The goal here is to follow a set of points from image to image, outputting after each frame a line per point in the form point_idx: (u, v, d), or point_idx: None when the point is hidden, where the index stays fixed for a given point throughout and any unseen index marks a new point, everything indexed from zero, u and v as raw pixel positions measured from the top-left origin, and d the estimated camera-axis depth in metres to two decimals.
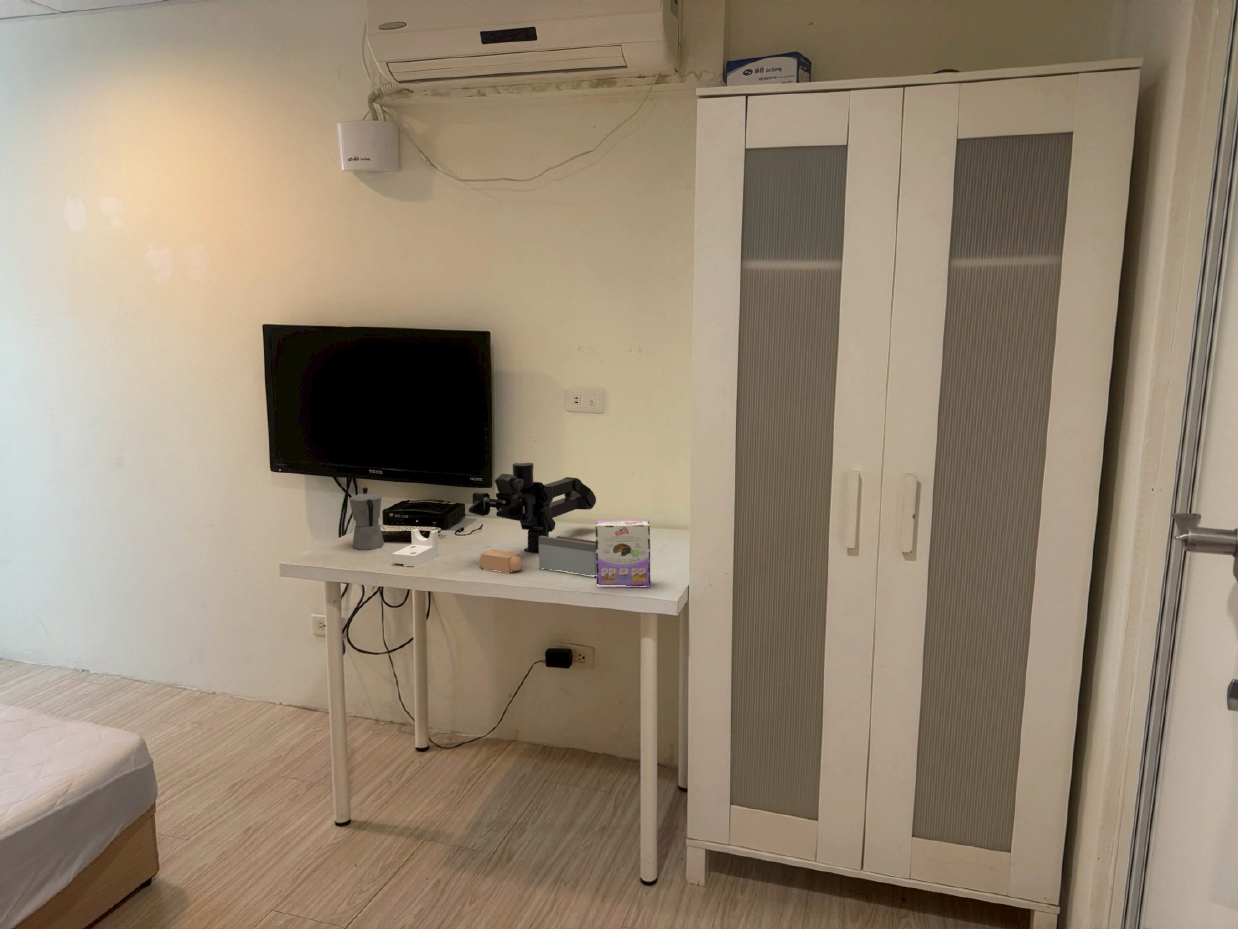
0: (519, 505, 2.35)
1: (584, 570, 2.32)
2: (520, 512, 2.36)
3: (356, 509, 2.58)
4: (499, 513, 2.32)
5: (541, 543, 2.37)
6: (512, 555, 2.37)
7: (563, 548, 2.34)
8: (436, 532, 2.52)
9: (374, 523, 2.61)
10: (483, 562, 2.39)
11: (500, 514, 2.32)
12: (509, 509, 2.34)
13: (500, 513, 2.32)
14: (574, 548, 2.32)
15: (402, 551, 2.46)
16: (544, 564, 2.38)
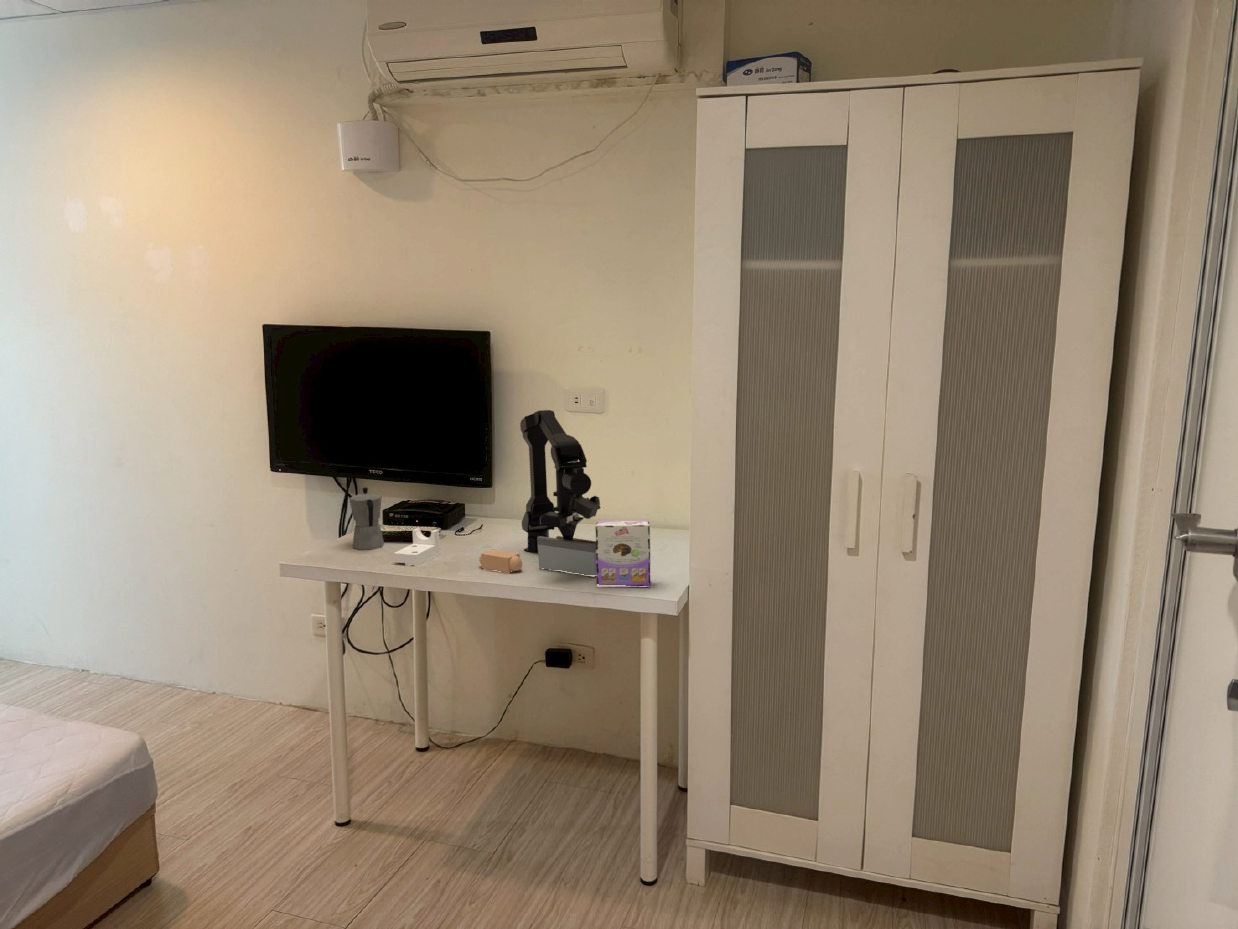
0: None
1: (584, 570, 2.32)
2: None
3: (356, 509, 2.58)
4: None
5: (540, 544, 2.37)
6: (512, 555, 2.37)
7: (562, 549, 2.34)
8: (437, 531, 2.53)
9: (374, 523, 2.61)
10: (483, 562, 2.39)
11: None
12: None
13: None
14: (573, 549, 2.32)
15: (404, 550, 2.46)
16: (544, 564, 2.38)
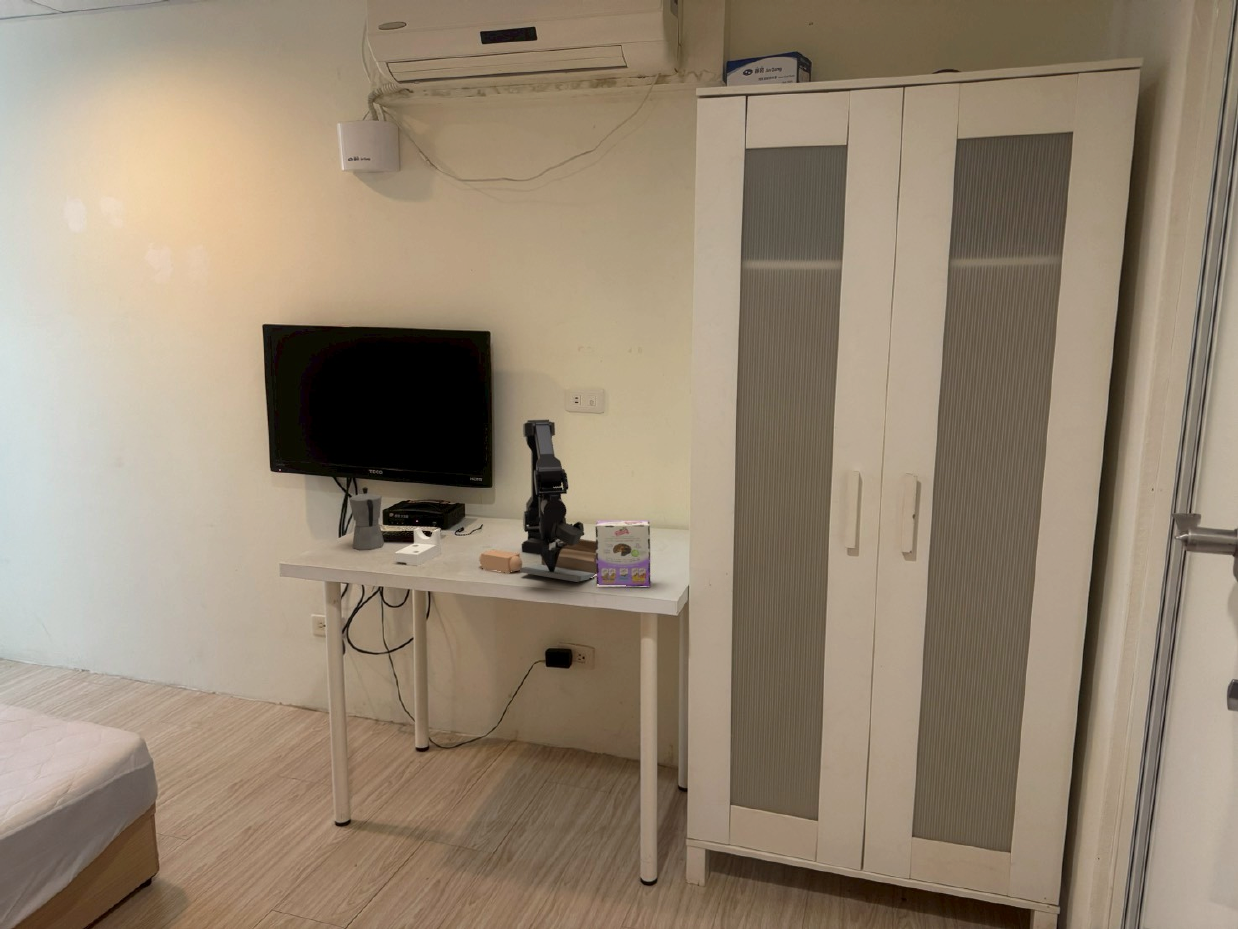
0: None
1: None
2: None
3: (356, 509, 2.58)
4: None
5: None
6: (512, 555, 2.37)
7: None
8: (438, 531, 2.53)
9: (374, 523, 2.61)
10: (483, 562, 2.39)
11: None
12: None
13: None
14: None
15: (405, 550, 2.47)
16: None
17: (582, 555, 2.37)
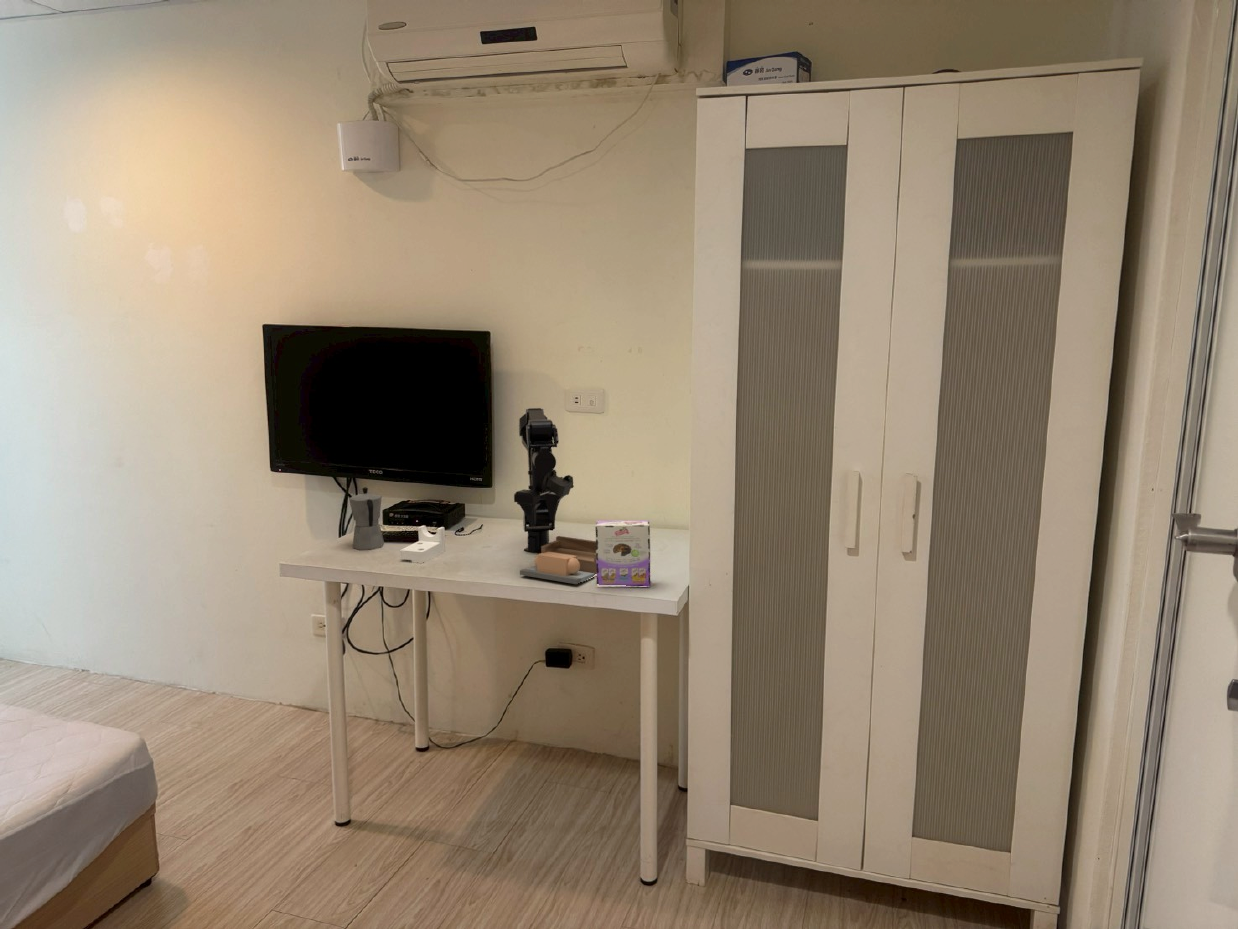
0: None
1: None
2: None
3: (356, 509, 2.58)
4: None
5: None
6: (570, 556, 2.29)
7: None
8: (443, 529, 2.56)
9: (374, 523, 2.61)
10: (539, 563, 2.30)
11: None
12: None
13: None
14: None
15: (410, 547, 2.49)
16: None
17: (582, 555, 2.37)
